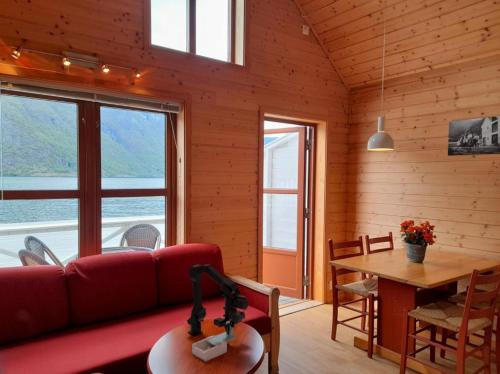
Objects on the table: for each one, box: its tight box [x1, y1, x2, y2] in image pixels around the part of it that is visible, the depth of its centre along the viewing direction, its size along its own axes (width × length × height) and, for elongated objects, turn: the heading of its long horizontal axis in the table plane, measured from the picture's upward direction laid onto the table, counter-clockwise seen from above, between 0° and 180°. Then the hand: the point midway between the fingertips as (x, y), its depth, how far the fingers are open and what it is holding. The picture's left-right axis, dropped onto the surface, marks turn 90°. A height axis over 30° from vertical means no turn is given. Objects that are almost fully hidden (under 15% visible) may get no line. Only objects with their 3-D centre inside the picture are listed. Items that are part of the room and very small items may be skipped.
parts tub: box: [191, 335, 228, 363], centre depth 182 cm, size 11×14×5 cm
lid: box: [206, 326, 237, 346], centre depth 187 cm, size 9×14×5 cm, turn 136°
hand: (229, 333), depth 192 cm, fingers closed on lid, 2 cm apart
